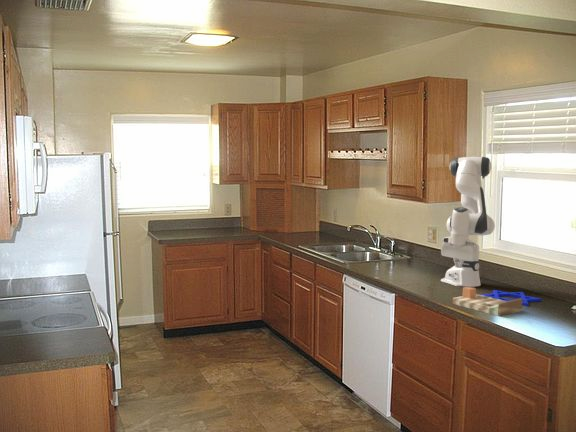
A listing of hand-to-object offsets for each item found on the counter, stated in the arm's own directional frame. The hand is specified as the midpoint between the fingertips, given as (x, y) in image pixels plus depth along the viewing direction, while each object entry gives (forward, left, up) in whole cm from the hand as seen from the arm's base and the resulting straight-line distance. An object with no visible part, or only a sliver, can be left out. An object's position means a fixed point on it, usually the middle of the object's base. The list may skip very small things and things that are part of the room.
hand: (458, 267), depth 312 cm
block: (+7, 0, -14) cm, 15 cm away
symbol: (+14, +25, -17) cm, 33 cm away
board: (+17, 0, -17) cm, 24 cm away
